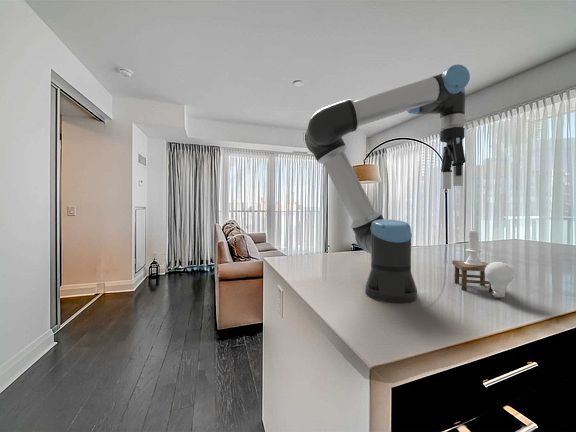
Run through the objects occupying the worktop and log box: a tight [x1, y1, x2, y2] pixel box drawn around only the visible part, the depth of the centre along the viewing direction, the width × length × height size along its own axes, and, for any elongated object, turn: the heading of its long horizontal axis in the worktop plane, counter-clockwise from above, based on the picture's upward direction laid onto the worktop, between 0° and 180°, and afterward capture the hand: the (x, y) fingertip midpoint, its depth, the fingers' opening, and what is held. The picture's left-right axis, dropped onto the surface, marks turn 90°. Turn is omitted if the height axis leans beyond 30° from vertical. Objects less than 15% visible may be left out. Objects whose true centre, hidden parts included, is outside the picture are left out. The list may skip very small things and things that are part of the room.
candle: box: [464, 228, 484, 266], centre depth 84 cm, size 5×5×12 cm
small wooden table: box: [451, 260, 493, 294], centre depth 84 cm, size 10×10×8 cm
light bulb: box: [485, 261, 515, 300], centre depth 73 cm, size 7×7×11 cm
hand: (451, 187), depth 91 cm, fingers open, 13 cm apart
